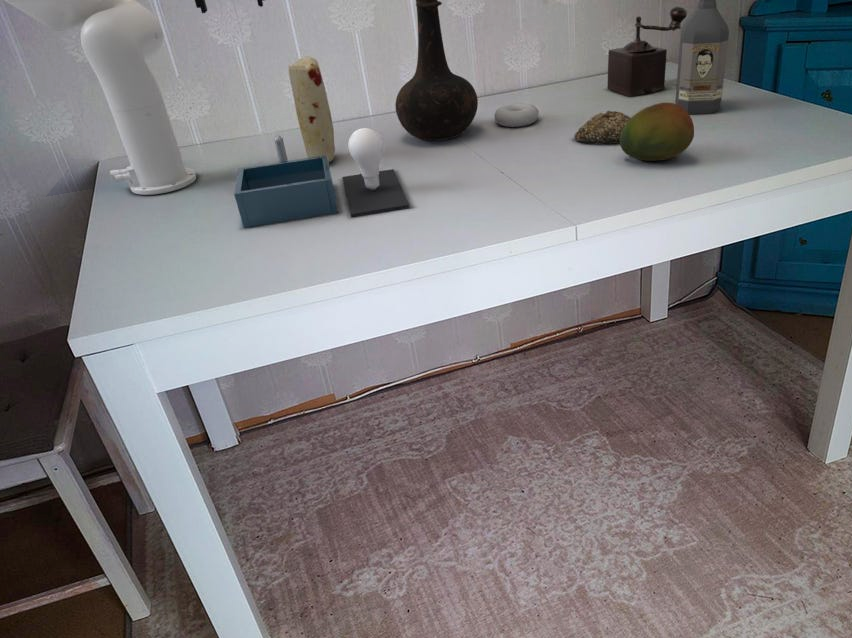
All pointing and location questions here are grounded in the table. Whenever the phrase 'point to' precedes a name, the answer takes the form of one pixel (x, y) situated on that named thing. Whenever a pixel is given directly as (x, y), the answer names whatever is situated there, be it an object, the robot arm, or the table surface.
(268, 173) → the sink
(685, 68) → the liquor
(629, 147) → the fruit
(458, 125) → the dark brown vase
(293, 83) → the food model
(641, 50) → the manual coffee grinder
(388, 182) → the mat
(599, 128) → the bread roll
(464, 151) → the table surface
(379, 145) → the lightbulb
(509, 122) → the donut
